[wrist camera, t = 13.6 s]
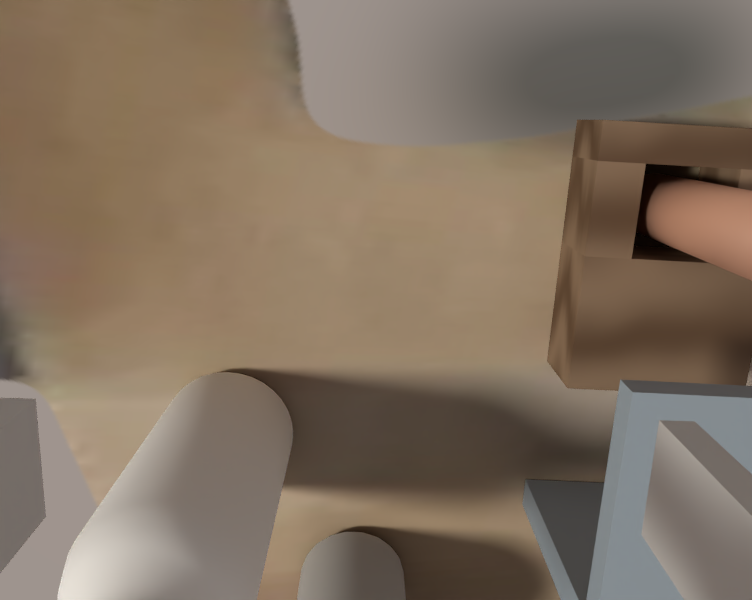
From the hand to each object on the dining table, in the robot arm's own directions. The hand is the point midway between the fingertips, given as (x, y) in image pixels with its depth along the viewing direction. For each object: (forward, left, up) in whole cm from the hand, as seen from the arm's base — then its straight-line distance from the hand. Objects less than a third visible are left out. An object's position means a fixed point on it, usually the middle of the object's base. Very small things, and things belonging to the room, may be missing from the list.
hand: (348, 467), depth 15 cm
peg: (-3, +19, -32) cm, 37 cm away
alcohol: (+14, -8, -32) cm, 36 cm away
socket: (0, +19, -32) cm, 37 cm away
